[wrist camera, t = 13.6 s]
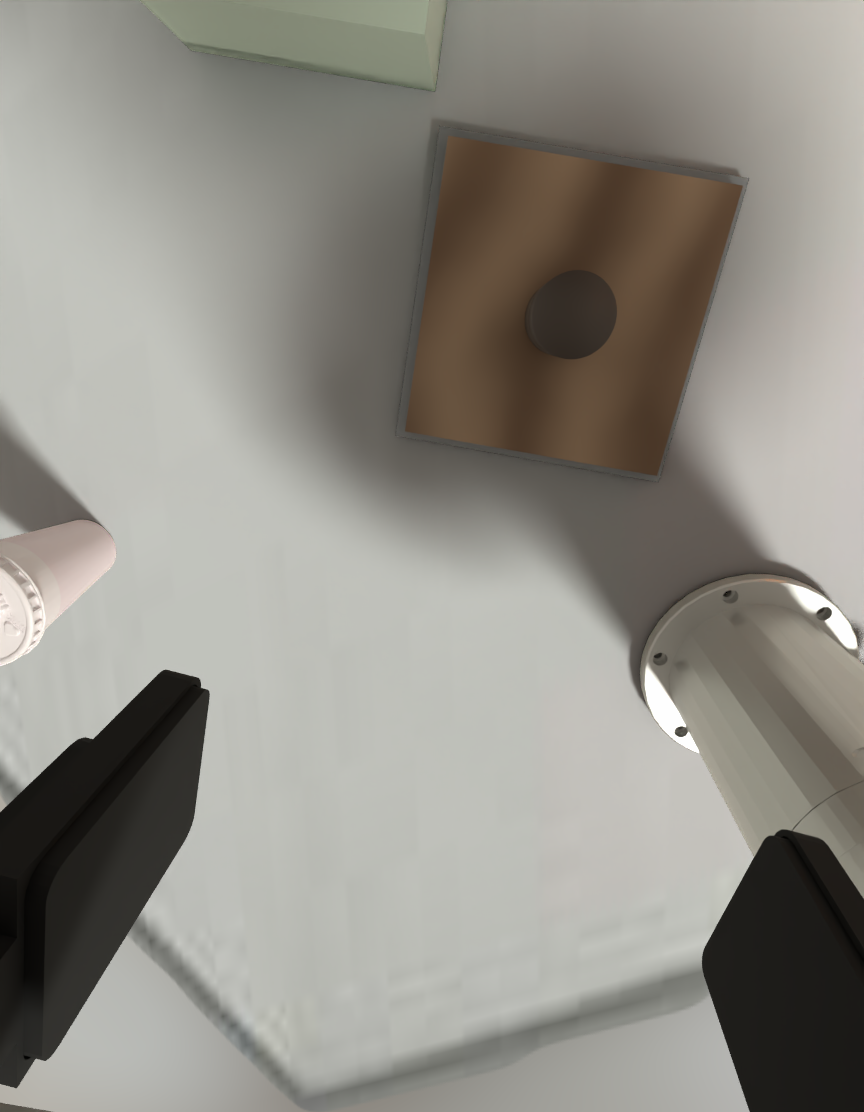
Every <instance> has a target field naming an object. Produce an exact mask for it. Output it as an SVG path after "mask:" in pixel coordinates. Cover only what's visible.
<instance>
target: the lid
mask: <svg viewBox="0 0 864 1112" xmlns="http://www.w3.org/2000/svg"><path fill="white" fill-rule="evenodd" d="M742 188H743V185H737V184H731V183H725V182H719V181H713V180H707V179H701V178H695V177H690V176H684V175H678V174H672V173H666V172H660V171H654V170H648V169H642V168H636V167H631V166H625V165H619V164H613V163H607V162H601V161H595V160H589V159H583V158H577V157H572V156H566V155H560V154H554V153H548V152H542V151H536V150H530V149H524V148H519V147H513V146H507V145H501V144H495V143H489V142H483V141H477V140H471V139H465V138H460V137H454V136H448V141H447V147H446V154H445V161H444V168H443V175H442V182H441V188H440V195H439V202H438V209H437V216H436V223H435V229H434V236H433V243H432V250H431V257H430V264H429V270H428V277H427V284H426V291H425V298H424V305H423V311H422V318H421V325H420V332H419V339H418V346H417V352H416V359H415V366H414V373H413V380H412V387H411V393H410V400H409V407H408V414H407V421H406V427H405V431H406V432H411V433H417V434H423V435H428V436H434V437H440V438H445V439H451V440H457V441H462V442H468V443H473V444H479V445H485V446H490V447H496V448H502V449H507V450H513V451H519V452H524V453H530V454H536V455H541V456H547V457H553V458H558V459H564V460H570V461H575V462H581V463H587V464H592V465H598V466H604V467H609V468H615V469H621V470H626V471H632V472H638V473H643V474H649V475H655V476H657V474H658V471H659V467H660V464H661V461H662V457H663V454H664V451H665V447H666V444H667V440H668V437H669V434H670V430H671V427H672V424H673V420H674V417H675V413H676V410H677V407H678V403H679V400H680V397H681V393H682V390H683V387H684V383H685V380H686V376H687V373H688V370H689V366H690V363H691V360H692V356H693V353H694V349H695V346H696V343H697V339H698V336H699V333H700V329H701V326H702V322H703V319H704V316H705V312H706V309H707V306H708V302H709V299H710V296H711V292H712V289H713V285H714V282H715V279H716V275H717V272H718V269H719V265H720V262H721V258H722V255H723V252H724V248H725V245H726V242H727V238H728V235H729V232H730V228H731V225H732V221H733V218H734V215H735V211H736V208H737V205H738V201H739V198H740V194H741V191H742Z"/></svg>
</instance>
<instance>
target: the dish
mask: <svg viewBox="0 0 864 1112" xmlns="http://www.w3.org/2000/svg"><path fill="white" fill-rule="evenodd" d="M140 1H141V2H142V3H143V4H144V5H145V6H146V7H147V8H148V9H149V10H150V11H151V12H152V13H153V14H154V15H155V16H156V17H157V18H158V19H159V20H160V21H161V22H162V23H163V24H164V25H165V26H166V27H167V28H168V29H169V30H171V31H172V32H173V33H174V34H175V35H176V36H177V37H178V38H179V39H180V40H181V41H182V42H183V43H184V44H185V45H186V46H187V47H188V48H189V49H190V50H191V51H197V52H203V53H209V54H215V55H221V56H227V57H233V58H239V59H245V60H251V61H257V62H262V63H268V64H274V65H280V66H286V67H292V68H298V69H304V70H310V71H316V72H322V73H328V74H334V75H340V76H346V77H351V78H357V79H363V80H369V81H375V82H381V83H387V84H393V85H399V86H405V87H411V88H417V89H423V90H429V91H434V92H435V89H436V82H437V75H438V67H439V60H440V53H441V46H442V38H443V31H444V24H445V16H446V9H447V2H448V0H140Z"/></svg>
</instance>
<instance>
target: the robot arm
mask: <svg viewBox="0 0 864 1112" xmlns="http://www.w3.org/2000/svg"><path fill="white" fill-rule="evenodd" d="M728 590H729V591H728ZM726 591H728V593H726V594H724V593H725V592H726ZM657 653H659V654H658V655H656V654H657ZM640 682H641V689H642V692H643V696H644V699H645V702H646V704H647V706H648V708H649V710H650V712H651V715H652V717H653V718H654V720H655V721H656V722H657V724H658V725H659V726H660V728H661V729H662V730H663V731H664V732H665V733H666V734H667V735H668V736H669V737H670V738H671V739H673V740H674V741H675V742H677V743H679V744H681V745H682V746H684V747H686V748H687V749H689V750H691V751H694V752H697V753H700V755H701V757H702V758H703V760H704V762H705V764H706V766H707V768H708V770H709V772H710V774H711V776H712V778H713V780H714V781H715V783H716V785H717V787H718V789H719V791H720V793H721V795H722V797H723V799H724V801H725V803H726V804H727V806H728V808H729V810H730V812H731V814H732V816H733V818H734V820H735V822H736V824H737V825H738V827H739V829H740V831H741V833H742V835H743V837H744V839H745V841H746V843H747V845H748V847H749V848H750V850H751V852H752V854H753V856H754V859H753V860H752V862H751V864H750V866H749V868H748V870H747V871H746V873H745V875H744V877H743V879H742V880H741V882H740V884H739V886H738V888H737V890H736V891H735V893H734V895H733V897H732V899H731V901H730V902H729V904H728V906H727V908H726V910H725V911H724V913H723V915H722V917H721V919H720V921H719V922H718V924H717V926H716V928H715V930H714V932H713V933H712V935H711V937H710V939H709V941H708V942H707V944H706V946H705V948H704V951H703V956H702V968H703V973H704V977H705V980H706V983H707V986H708V989H709V992H710V995H711V998H712V1001H713V1004H714V1007H715V1009H716V1013H717V1016H718V1019H719V1022H720V1025H721V1028H722V1030H723V1034H724V1037H725V1039H726V1042H727V1045H728V1048H729V1051H730V1054H731V1057H732V1060H733V1063H734V1066H735V1069H736V1072H737V1075H738V1078H739V1081H740V1084H741V1087H742V1090H743V1093H744V1096H745V1099H746V1102H747V1105H748V1108H749V1111H750V1112H864V664H863V663H862V662H860V661H859V650H858V644H857V638H856V635H855V633H854V631H853V628H852V626H851V624H850V622H849V620H848V619H847V618H846V616H845V615H844V614H843V612H842V611H841V610H840V609H839V607H838V606H837V605H835V604H834V603H833V602H832V601H831V600H829V599H828V598H827V597H826V596H825V595H823V594H822V593H820V592H819V591H817V590H815V589H814V588H812V587H811V586H809V585H807V584H805V583H802V582H799V581H797V580H794V579H792V578H788V577H783V576H777V575H772V574H746V575H740V576H734V577H728V578H725V579H722V580H719V581H716V582H713V583H710V584H707V585H705V586H703V587H701V588H699V589H697V590H696V591H694V592H692V593H690V594H688V595H687V596H685V597H684V598H683V599H682V600H680V601H679V602H678V603H676V604H675V605H674V606H672V607H671V608H670V610H669V611H668V612H667V613H666V614H665V615H664V616H663V617H662V618H661V619H660V620H659V622H658V623H657V625H656V626H655V628H654V630H653V631H652V633H651V634H650V636H649V638H648V640H647V643H646V646H645V648H644V651H643V653H642V659H641V666H640ZM209 695H210V694H209V691H208V690H207V689H203V688H201V682H200V679H199V678H197V677H193V676H189V675H185V674H181V673H177V672H174V671H170V670H163V671H162V672H160V673H159V674H158V675H157V676H156V677H155V678H154V679H153V680H152V681H151V682H150V683H149V684H148V685H147V686H146V687H145V688H144V689H143V690H142V691H141V692H140V693H139V694H138V695H137V696H136V697H135V698H134V699H133V700H132V701H131V702H130V703H129V704H128V705H127V706H126V707H125V708H124V709H123V710H122V711H121V712H120V713H119V714H118V715H117V716H116V717H115V718H114V719H113V720H112V721H111V722H110V723H109V724H108V725H107V726H106V727H105V728H104V729H103V730H102V731H101V732H100V733H99V734H98V735H97V736H96V737H95V738H94V739H89V738H86V737H84V738H81V739H78V740H77V741H75V742H74V743H73V744H71V745H70V746H69V747H68V748H67V749H66V750H65V751H64V752H63V753H62V754H61V755H60V756H59V757H57V758H56V759H55V760H54V761H53V762H52V763H51V764H50V765H49V766H48V767H47V768H46V769H45V770H44V771H43V772H42V773H41V774H40V775H39V776H38V777H37V778H36V779H35V780H33V781H32V782H31V783H30V784H29V785H28V786H27V787H26V788H25V789H24V790H23V791H22V792H21V793H20V794H19V795H18V796H17V797H16V798H15V799H14V800H13V801H12V802H11V803H9V804H8V805H7V806H6V807H5V808H4V809H3V810H2V811H1V812H0V1084H3V1085H6V1086H10V1087H14V1088H17V1087H18V1086H19V1084H20V1082H21V1081H22V1079H23V1078H24V1076H25V1074H26V1073H27V1071H28V1070H29V1068H30V1067H31V1065H32V1063H33V1062H34V1060H35V1059H40V1060H44V1061H46V1060H47V1059H49V1058H50V1057H51V1055H52V1054H53V1053H54V1052H55V1050H56V1049H57V1047H58V1046H59V1044H60V1043H61V1041H62V1040H63V1038H64V1036H65V1035H66V1033H67V1031H68V1030H69V1028H70V1026H71V1025H72V1023H73V1022H74V1020H75V1018H76V1017H77V1015H78V1014H79V1012H80V1010H81V1009H82V1007H83V1005H84V1004H85V1002H86V1001H87V999H88V997H89V996H90V994H91V992H92V991H93V989H94V988H95V986H96V984H97V982H98V981H99V979H100V978H101V976H102V974H103V973H104V971H105V970H106V968H107V966H108V965H109V963H110V961H111V960H112V958H113V957H114V955H115V953H116V952H117V950H118V948H119V947H120V945H121V944H122V942H123V940H124V939H125V937H126V935H127V934H128V932H129V931H130V929H131V927H132V926H133V924H134V922H135V921H136V919H137V918H138V916H139V914H140V913H141V911H142V909H143V908H144V906H145V904H146V903H147V901H148V900H149V898H150V896H151V895H152V893H153V891H154V890H155V888H156V887H157V885H158V883H159V882H160V880H161V878H162V877H163V875H164V874H165V872H166V870H167V869H168V867H169V865H170V864H171V862H172V861H173V859H174V857H175V856H176V854H177V852H178V851H179V849H180V848H181V846H182V844H183V843H184V841H185V839H186V837H187V835H188V833H189V831H190V828H191V826H192V822H193V819H194V813H195V806H196V798H197V790H198V782H199V775H200V767H201V759H202V751H203V744H204V736H205V728H206V720H207V713H208V705H209ZM0 1112H51V1111H45V1110H39V1109H33V1108H27V1107H22V1106H15V1105H10V1104H3V1103H0Z"/></svg>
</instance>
